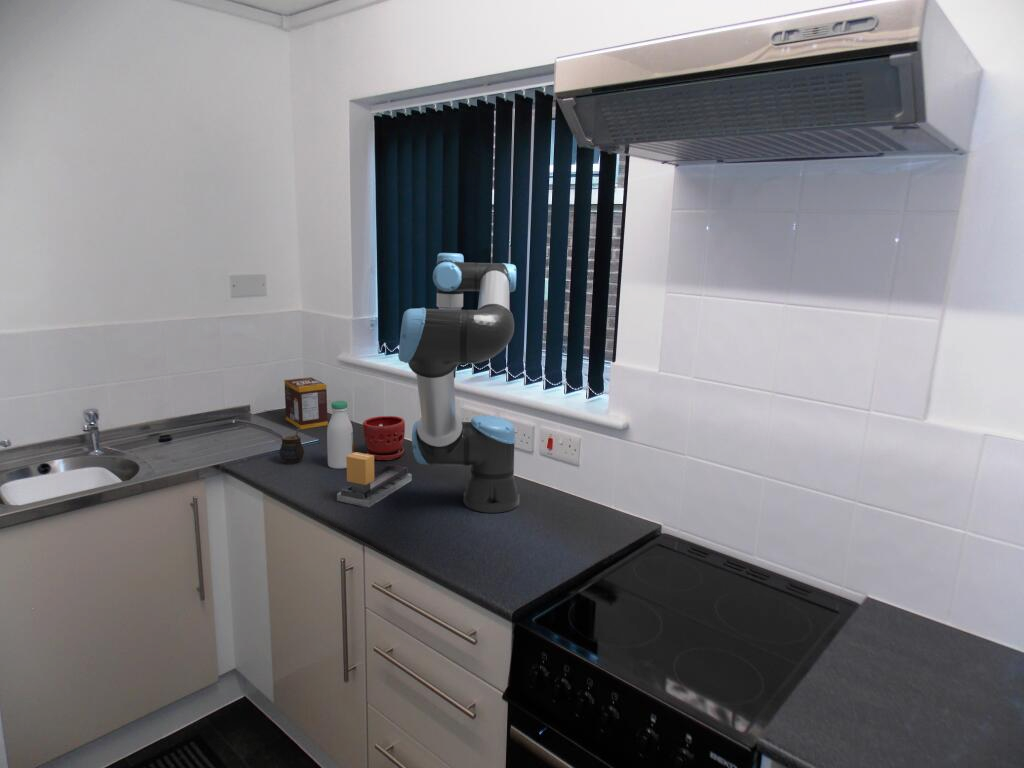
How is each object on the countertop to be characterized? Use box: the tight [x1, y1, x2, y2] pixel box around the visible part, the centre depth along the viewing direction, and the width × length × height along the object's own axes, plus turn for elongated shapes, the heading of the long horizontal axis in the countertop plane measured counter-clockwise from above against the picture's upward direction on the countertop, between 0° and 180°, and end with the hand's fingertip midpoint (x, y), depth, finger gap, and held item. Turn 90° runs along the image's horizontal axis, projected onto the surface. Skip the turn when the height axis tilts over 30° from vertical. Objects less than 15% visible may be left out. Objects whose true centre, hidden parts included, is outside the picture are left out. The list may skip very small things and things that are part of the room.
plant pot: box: [362, 415, 406, 461], centre depth 214 cm, size 13×13×12 cm
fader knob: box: [346, 451, 375, 493], centre depth 179 cm, size 4×6×10 cm, turn 68°
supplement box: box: [284, 376, 329, 430], centre depth 248 cm, size 10×15×16 cm
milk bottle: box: [326, 400, 355, 470], centre depth 203 cm, size 8×8×20 cm
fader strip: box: [336, 463, 413, 509], centre depth 186 cm, size 23×10×4 cm, turn 158°
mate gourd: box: [278, 427, 305, 465], centre depth 206 cm, size 7×8×10 cm
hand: (449, 388), depth 195 cm, fingers closed
